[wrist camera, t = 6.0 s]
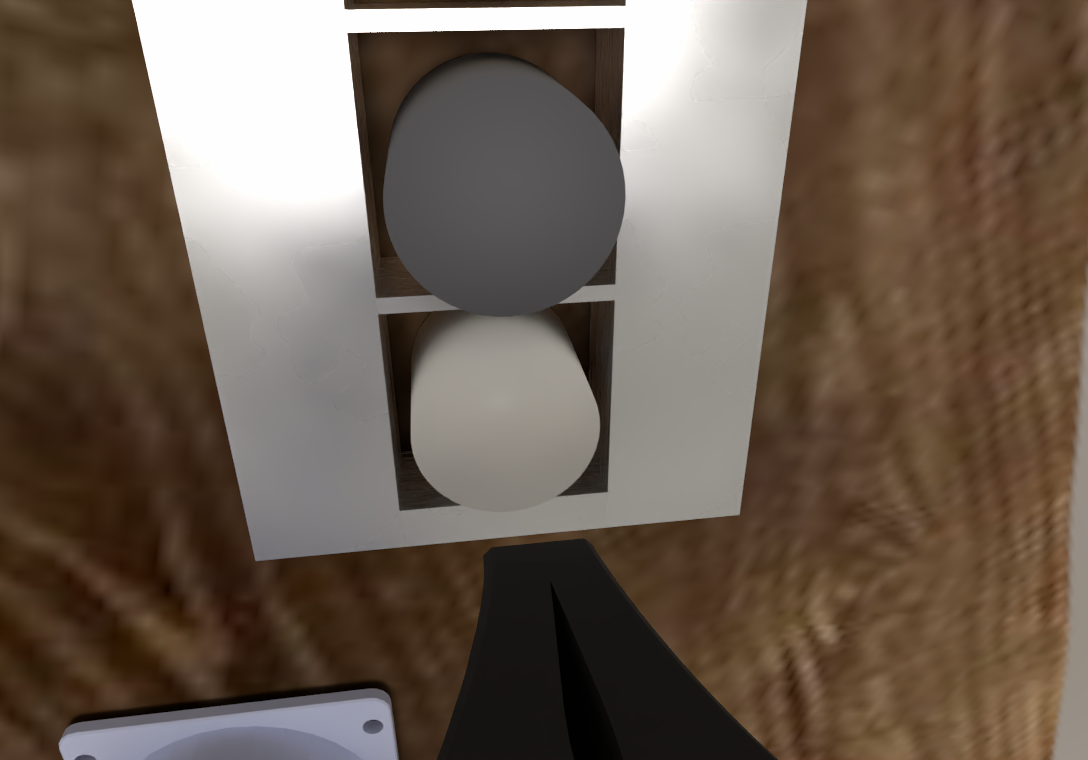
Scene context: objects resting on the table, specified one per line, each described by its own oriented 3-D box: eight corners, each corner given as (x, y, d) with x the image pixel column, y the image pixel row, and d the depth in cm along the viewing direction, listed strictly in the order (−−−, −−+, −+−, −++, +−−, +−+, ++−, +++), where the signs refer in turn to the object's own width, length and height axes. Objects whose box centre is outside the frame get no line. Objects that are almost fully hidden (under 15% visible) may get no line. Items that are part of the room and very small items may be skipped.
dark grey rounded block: (584, 248, 15) (620, 309, 12) (398, 257, 14) (395, 323, 12) (588, 50, 13) (630, 71, 11) (379, 54, 13) (369, 78, 10)
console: (706, 459, 19) (739, 514, 17) (272, 496, 18) (255, 561, 16) (793, -376, 12) (865, -440, 10) (94, -408, 11) (24, -488, 9)
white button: (570, 424, 18) (597, 503, 15) (417, 436, 18) (418, 520, 15) (572, 281, 16) (602, 342, 14) (404, 290, 16) (402, 355, 13)
